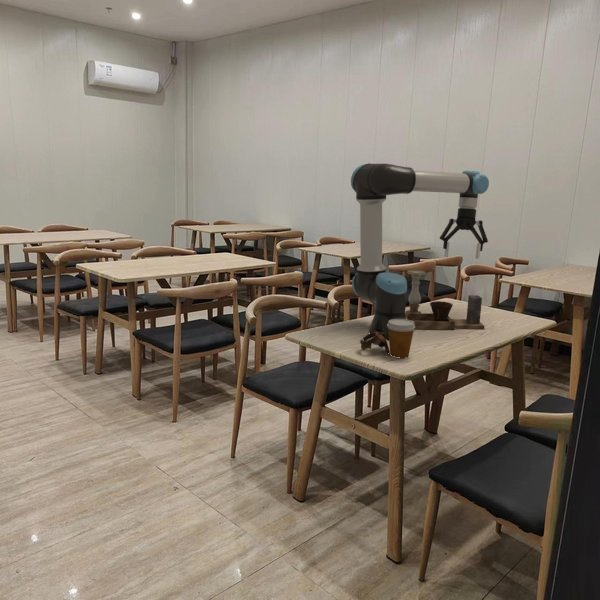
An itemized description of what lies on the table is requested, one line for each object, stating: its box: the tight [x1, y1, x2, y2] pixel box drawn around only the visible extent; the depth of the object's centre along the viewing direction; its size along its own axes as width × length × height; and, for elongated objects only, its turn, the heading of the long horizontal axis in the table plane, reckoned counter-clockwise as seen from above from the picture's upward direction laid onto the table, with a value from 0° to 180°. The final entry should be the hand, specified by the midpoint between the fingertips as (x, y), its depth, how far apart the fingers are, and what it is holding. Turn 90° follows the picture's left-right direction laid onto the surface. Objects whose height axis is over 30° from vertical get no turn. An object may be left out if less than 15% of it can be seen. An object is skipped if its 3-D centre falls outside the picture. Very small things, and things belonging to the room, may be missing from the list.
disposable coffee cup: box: [387, 318, 415, 359], centre depth 185 cm, size 10×10×12 cm
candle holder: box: [405, 269, 426, 319], centre depth 236 cm, size 9×9×20 cm
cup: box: [429, 300, 453, 322], centre depth 224 cm, size 9×9×10 cm
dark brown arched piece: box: [359, 332, 390, 355], centre depth 191 cm, size 12×10×8 cm
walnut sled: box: [406, 294, 485, 331], centre depth 224 cm, size 29×14×12 cm, turn 89°
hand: (461, 257), depth 235 cm, fingers open, 13 cm apart
